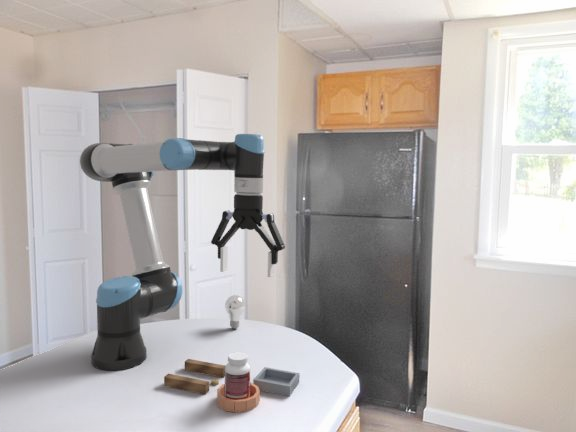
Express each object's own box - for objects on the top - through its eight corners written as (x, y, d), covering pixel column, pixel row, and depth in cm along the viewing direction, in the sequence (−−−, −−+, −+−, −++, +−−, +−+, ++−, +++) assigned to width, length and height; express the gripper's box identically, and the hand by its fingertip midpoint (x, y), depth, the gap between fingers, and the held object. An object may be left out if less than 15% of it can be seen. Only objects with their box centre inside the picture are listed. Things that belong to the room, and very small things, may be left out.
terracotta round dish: (209, 407, 112) (209, 396, 111) (228, 388, 121) (228, 378, 121) (249, 415, 108) (249, 404, 108) (265, 395, 118) (265, 385, 118)
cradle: (164, 385, 121) (164, 376, 121) (188, 367, 133) (188, 358, 132) (207, 394, 117) (207, 385, 117) (228, 374, 129) (228, 366, 129)
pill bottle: (254, 401, 114) (255, 358, 113) (231, 408, 111) (232, 363, 109) (242, 390, 119) (243, 349, 118) (220, 396, 116) (220, 353, 114)
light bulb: (222, 331, 161) (222, 297, 160) (228, 324, 168) (228, 292, 167) (241, 333, 160) (242, 299, 159) (246, 326, 167) (247, 293, 166)
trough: (253, 389, 121) (253, 379, 121) (264, 376, 129) (264, 367, 128) (289, 396, 118) (290, 386, 118) (299, 382, 125) (299, 373, 125)
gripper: (199, 192, 123) (198, 271, 125) (289, 197, 115) (286, 281, 118) (212, 190, 130) (211, 265, 132) (298, 195, 122) (295, 275, 125)
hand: (246, 273), depth 125 cm, fingers open, 13 cm apart
